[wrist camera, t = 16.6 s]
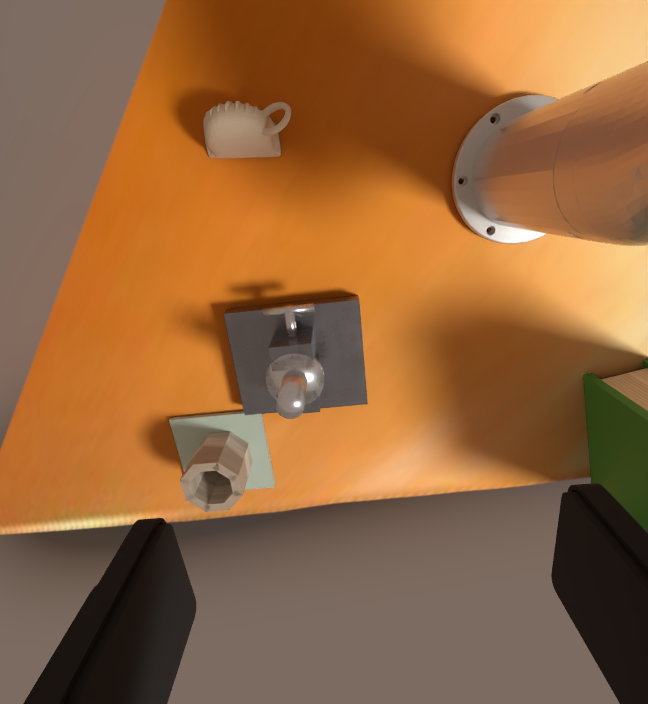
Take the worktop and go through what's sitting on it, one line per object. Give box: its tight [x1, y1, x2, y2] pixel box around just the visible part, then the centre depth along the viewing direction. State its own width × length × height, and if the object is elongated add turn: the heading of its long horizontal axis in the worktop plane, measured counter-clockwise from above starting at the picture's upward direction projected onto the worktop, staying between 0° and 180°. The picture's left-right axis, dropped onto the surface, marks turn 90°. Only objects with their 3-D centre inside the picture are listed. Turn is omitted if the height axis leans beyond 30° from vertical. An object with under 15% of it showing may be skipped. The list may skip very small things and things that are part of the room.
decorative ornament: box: [203, 101, 291, 158], centre depth 34 cm, size 4×8×5 cm, turn 90°
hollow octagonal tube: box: [180, 432, 253, 512], centre depth 46 cm, size 6×6×6 cm
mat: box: [169, 411, 275, 490], centre depth 49 cm, size 11×11×1 cm
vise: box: [224, 295, 367, 419], centre depth 39 cm, size 14×13×12 cm
